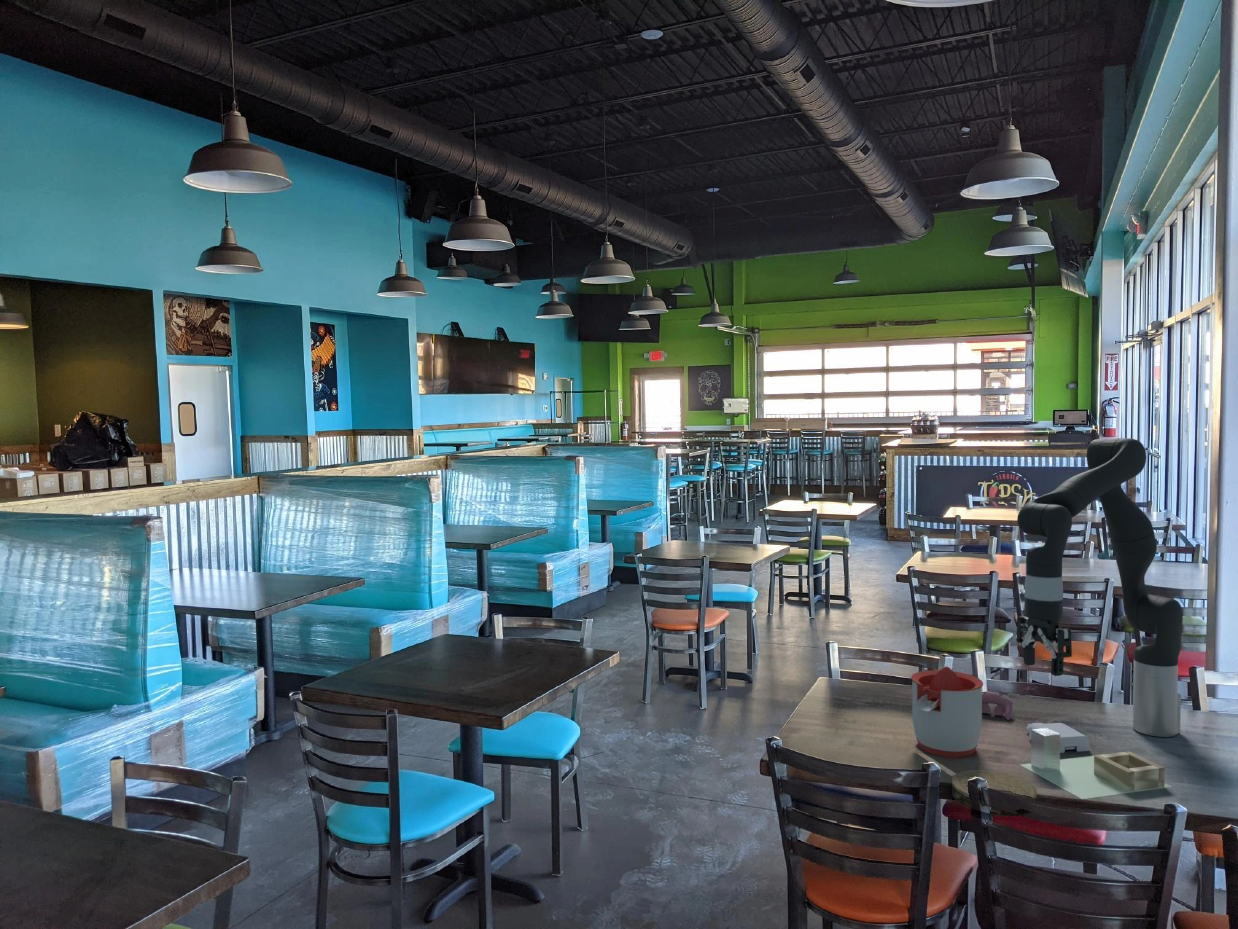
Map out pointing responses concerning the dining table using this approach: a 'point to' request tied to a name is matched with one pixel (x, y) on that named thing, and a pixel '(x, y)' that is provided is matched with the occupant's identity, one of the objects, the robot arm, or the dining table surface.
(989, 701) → the video game controller
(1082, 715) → the dining table surface
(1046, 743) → the peg
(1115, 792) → the board
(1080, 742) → the charger
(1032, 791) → the olive brown round disc
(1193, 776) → the dining table surface
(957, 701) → the citrus juicer
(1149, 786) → the shallow wooden crate
